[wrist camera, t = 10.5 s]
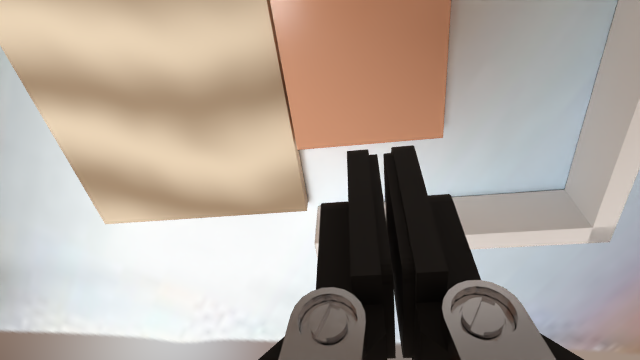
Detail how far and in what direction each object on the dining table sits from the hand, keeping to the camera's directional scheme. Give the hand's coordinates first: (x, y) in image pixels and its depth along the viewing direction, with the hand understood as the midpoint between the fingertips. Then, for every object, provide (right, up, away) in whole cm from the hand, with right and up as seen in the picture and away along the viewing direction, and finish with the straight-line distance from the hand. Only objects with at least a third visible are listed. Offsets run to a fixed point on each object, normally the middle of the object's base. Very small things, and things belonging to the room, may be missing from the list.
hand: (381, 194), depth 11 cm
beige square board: (-11, +6, +12) cm, 17 cm away
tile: (+1, +7, +11) cm, 13 cm away
